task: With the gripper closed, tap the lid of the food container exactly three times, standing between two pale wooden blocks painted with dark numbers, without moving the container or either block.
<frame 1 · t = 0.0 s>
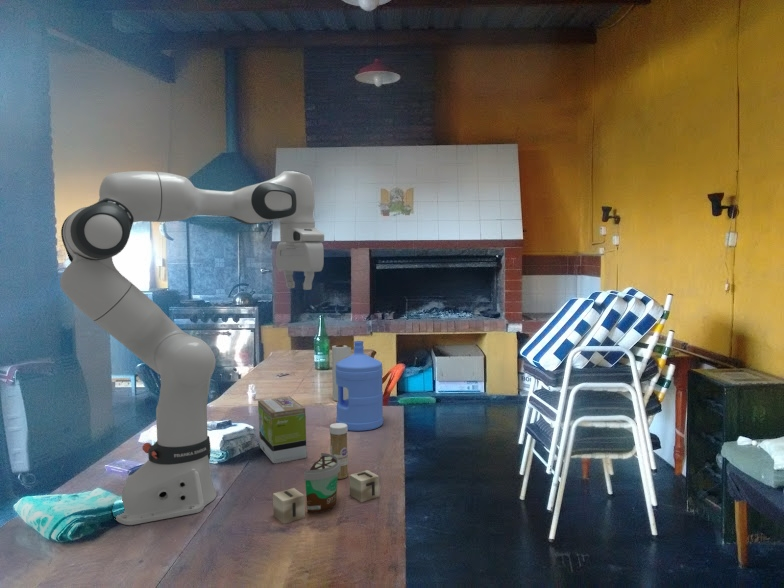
hand: (298, 288, 150), 48 cm above the table, tool pointing down, fingers open, 8 cm apart
sprinkles bottle: (339, 477, 149), on the table
numbered block seven: (364, 496, 137), on the table
food container: (327, 505, 132), on the table
tea box: (282, 454, 167), on the table
water jug: (359, 425, 194), on the table
numbered block one: (289, 516, 126), on the table
paper towel roll: (341, 400, 227), on the table
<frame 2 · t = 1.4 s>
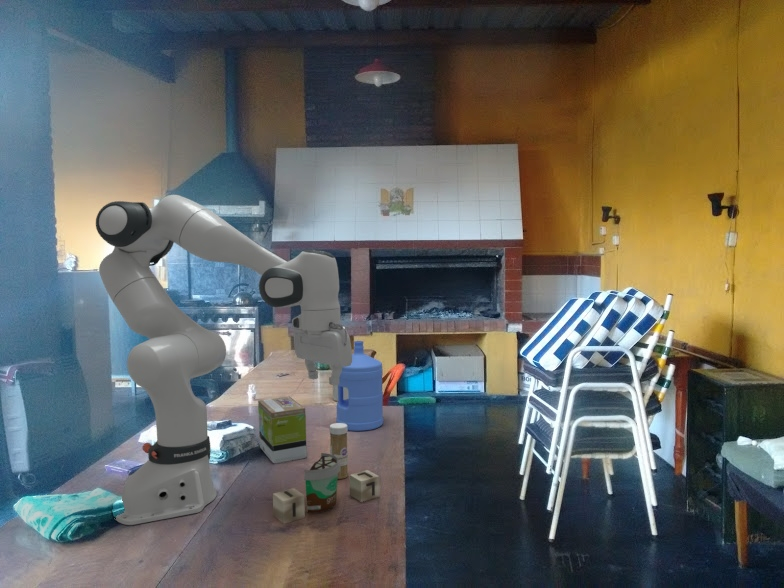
hand: (323, 381, 132), 28 cm above the table, tool pointing down, fingers open, 8 cm apart
nothing on the table moved.
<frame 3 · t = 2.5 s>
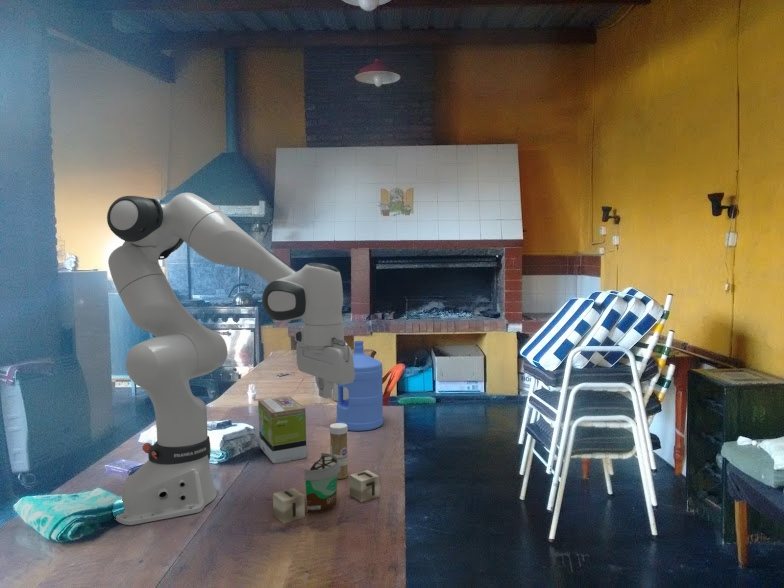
hand: (325, 397, 130), 25 cm above the table, tool pointing down, fingers closed
nothing on the table moved.
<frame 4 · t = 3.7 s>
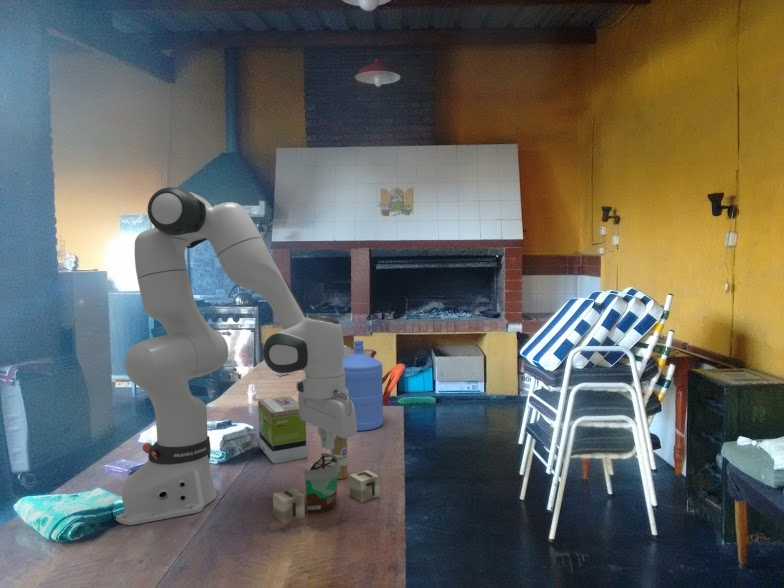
hand: (327, 447, 131), 13 cm above the table, tool pointing down, fingers closed
nothing on the table moved.
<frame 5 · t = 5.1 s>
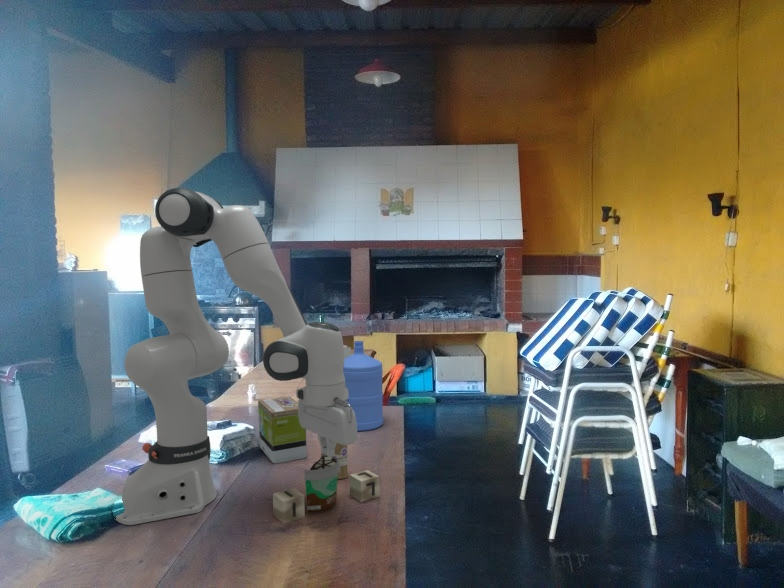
hand: (328, 455, 131), 12 cm above the table, tool pointing down, fingers closed
nothing on the table moved.
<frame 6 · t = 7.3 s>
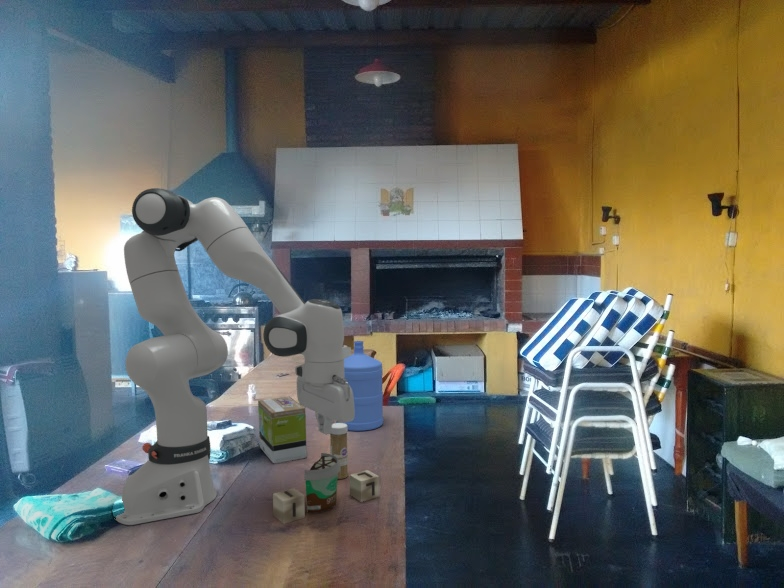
hand: (325, 432, 131), 17 cm above the table, tool pointing down, fingers closed
nothing on the table moved.
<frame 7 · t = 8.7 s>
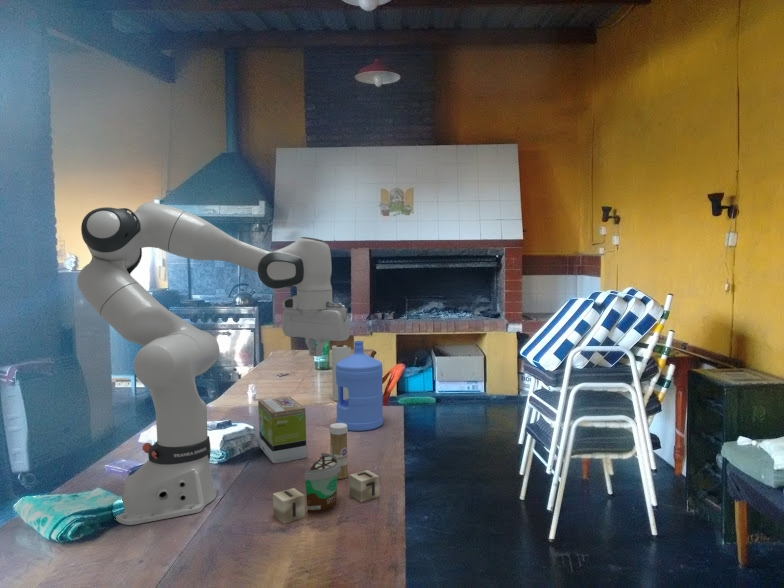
hand: (315, 355, 147), 31 cm above the table, tool pointing down, fingers closed
nothing on the table moved.
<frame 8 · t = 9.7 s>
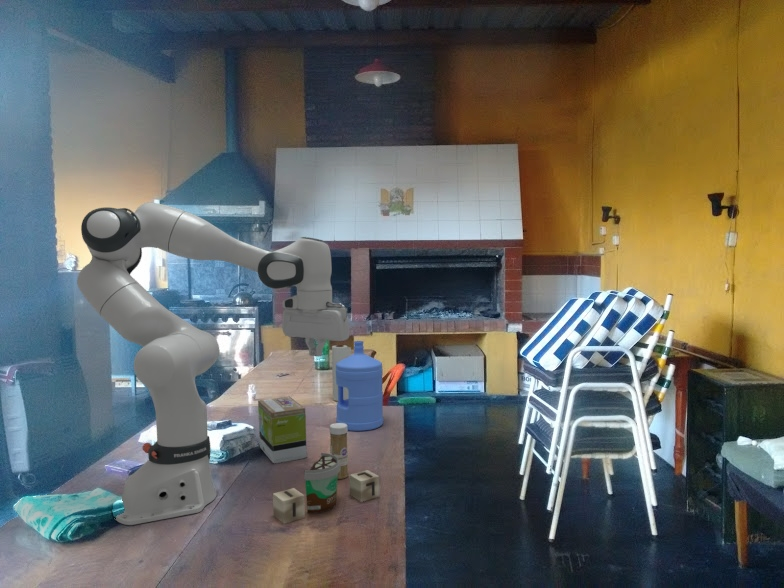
hand: (315, 355, 147), 31 cm above the table, tool pointing down, fingers closed
nothing on the table moved.
at the end: food container moved 0.2 cm from its start; numbered block one moved 0.1 cm from its start; numbered block seven moved 0.1 cm from its start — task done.
